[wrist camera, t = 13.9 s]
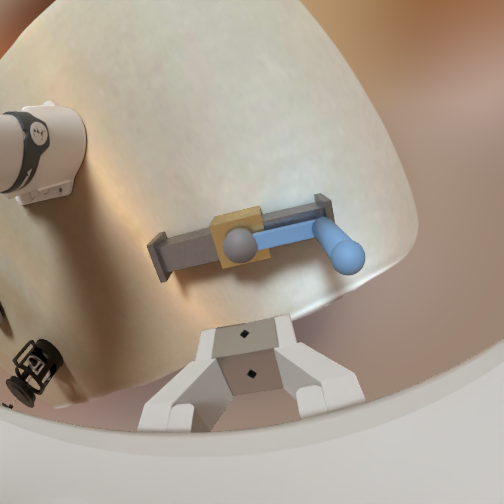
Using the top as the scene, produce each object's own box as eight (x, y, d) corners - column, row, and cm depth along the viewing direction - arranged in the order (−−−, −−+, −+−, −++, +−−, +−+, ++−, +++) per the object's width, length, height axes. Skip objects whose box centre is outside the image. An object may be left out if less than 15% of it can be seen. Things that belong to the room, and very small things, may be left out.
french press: (70, 367, 55) (32, 429, 34) (51, 368, 56) (14, 424, 35) (46, 331, 51) (-3, 391, 30) (28, 334, 52) (-17, 388, 31)
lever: (229, 261, 38) (218, 316, 26) (220, 231, 37) (204, 275, 24) (334, 237, 37) (371, 281, 24) (329, 206, 35) (368, 238, 23)
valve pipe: (171, 267, 45) (161, 283, 39) (158, 231, 43) (146, 244, 37) (327, 231, 43) (337, 243, 37) (320, 191, 40) (330, 198, 35)
